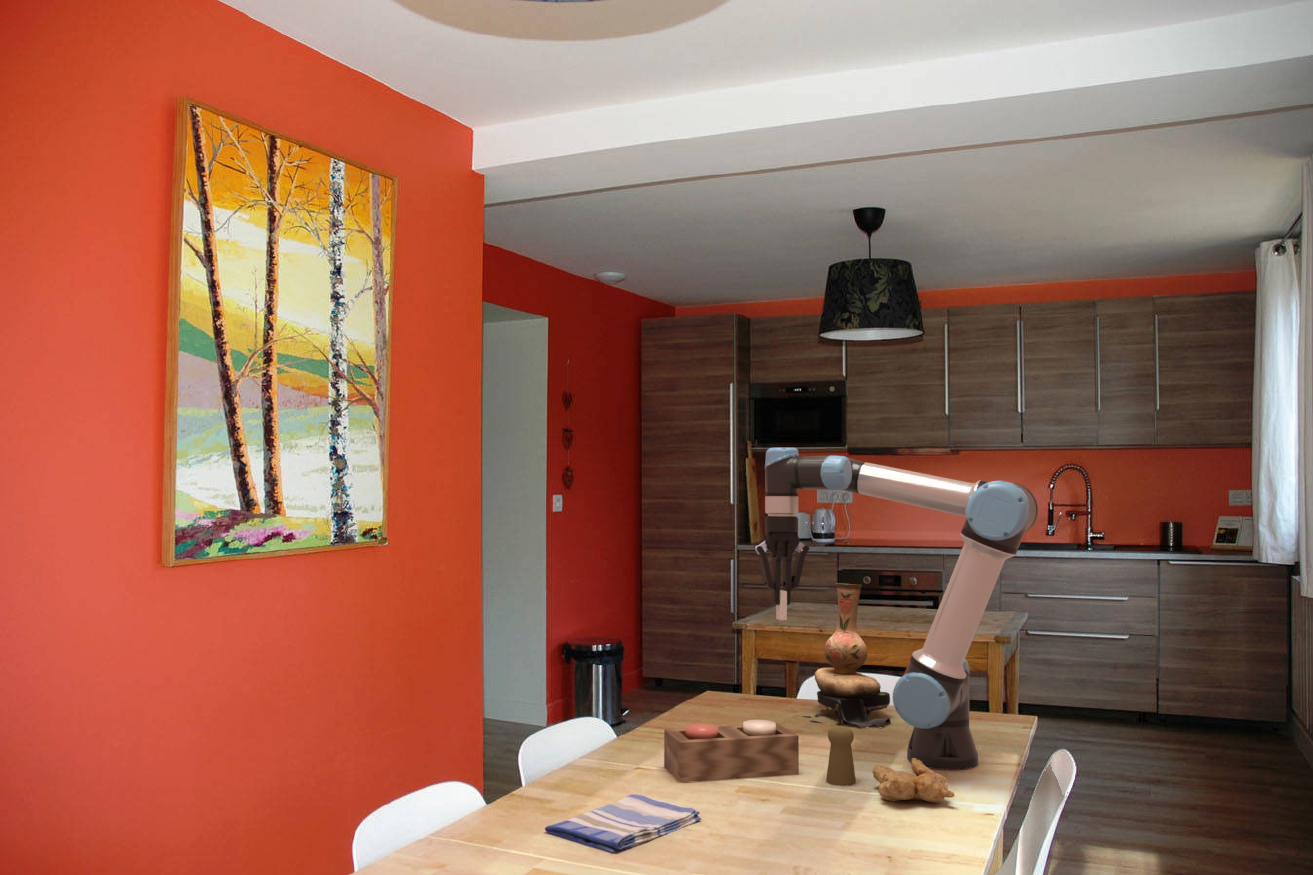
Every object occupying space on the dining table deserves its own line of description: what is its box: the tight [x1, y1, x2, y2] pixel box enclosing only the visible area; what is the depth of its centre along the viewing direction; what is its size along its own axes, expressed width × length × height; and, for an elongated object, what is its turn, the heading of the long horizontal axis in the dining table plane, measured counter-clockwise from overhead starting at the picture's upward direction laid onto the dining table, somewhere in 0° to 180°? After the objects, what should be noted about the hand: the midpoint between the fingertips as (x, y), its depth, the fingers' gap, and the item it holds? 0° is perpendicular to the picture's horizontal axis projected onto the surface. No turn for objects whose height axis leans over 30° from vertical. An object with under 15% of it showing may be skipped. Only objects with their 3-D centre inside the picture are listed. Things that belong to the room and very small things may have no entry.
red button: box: [684, 722, 718, 740], centre depth 216 cm, size 7×7×7 cm
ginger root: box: [872, 758, 955, 804], centre depth 198 cm, size 16×16×8 cm
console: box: [663, 722, 800, 783], centre depth 217 cm, size 26×12×8 cm, turn 105°
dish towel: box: [544, 793, 702, 855], centre depth 181 cm, size 17×24×3 cm
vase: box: [801, 582, 891, 729], centre depth 271 cm, size 24×22×35 cm
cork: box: [825, 725, 857, 787], centre depth 210 cm, size 6×6×11 cm
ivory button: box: [742, 719, 777, 736], centre depth 219 cm, size 7×7×7 cm
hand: (781, 619), depth 232 cm, fingers closed
